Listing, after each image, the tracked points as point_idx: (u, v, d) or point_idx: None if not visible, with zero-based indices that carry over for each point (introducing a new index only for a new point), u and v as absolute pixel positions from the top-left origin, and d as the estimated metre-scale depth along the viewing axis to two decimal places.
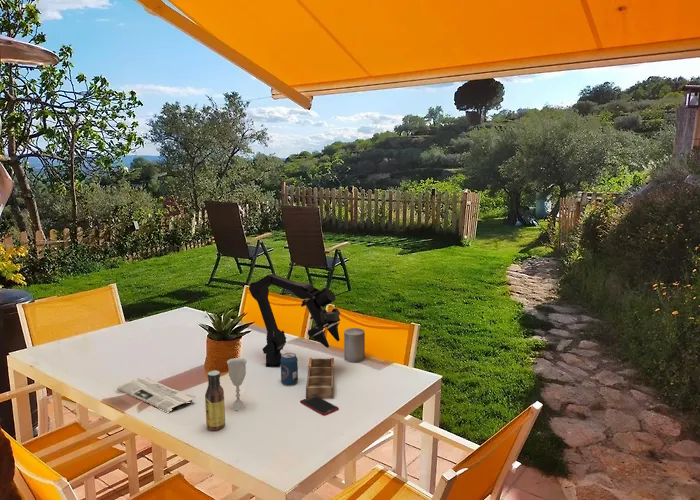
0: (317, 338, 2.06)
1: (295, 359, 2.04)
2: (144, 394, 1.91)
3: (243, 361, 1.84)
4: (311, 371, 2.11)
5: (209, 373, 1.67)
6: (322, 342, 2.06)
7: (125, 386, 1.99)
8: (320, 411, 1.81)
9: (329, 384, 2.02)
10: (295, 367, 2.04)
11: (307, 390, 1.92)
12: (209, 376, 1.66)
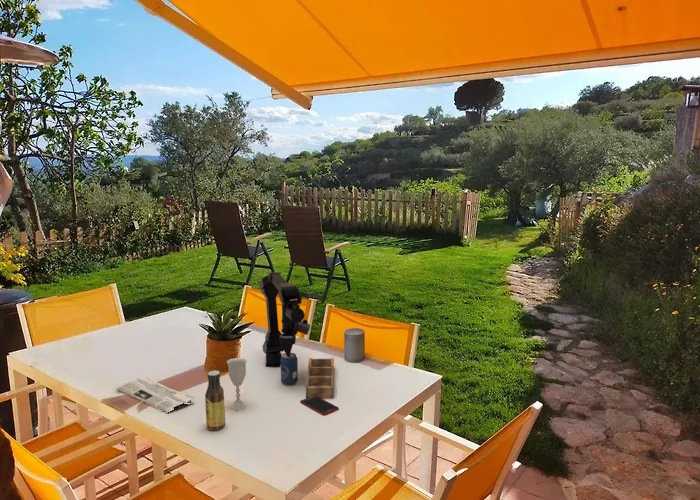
0: (284, 345, 1.98)
1: (295, 359, 2.04)
2: (143, 394, 1.91)
3: (243, 361, 1.84)
4: (311, 371, 2.11)
5: (209, 373, 1.67)
6: (286, 350, 1.99)
7: (124, 386, 1.99)
8: (320, 411, 1.81)
9: (329, 384, 2.02)
10: (295, 367, 2.04)
11: (307, 390, 1.92)
12: (209, 376, 1.66)
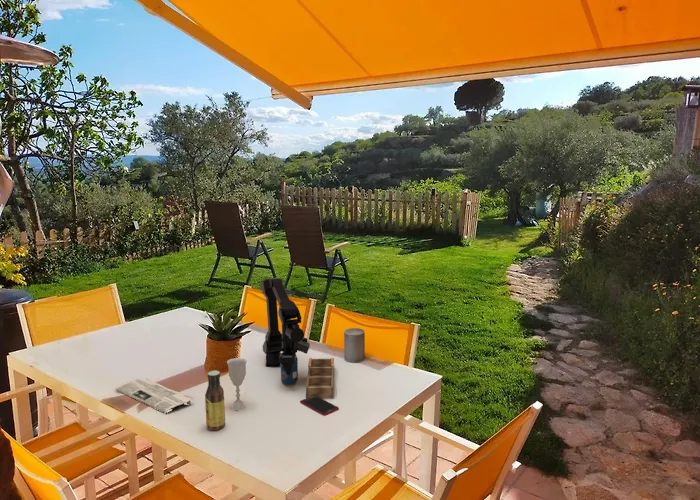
0: (284, 363, 2.00)
1: None
2: (142, 395, 1.91)
3: (243, 361, 1.84)
4: (311, 371, 2.11)
5: (209, 373, 1.67)
6: (286, 368, 2.01)
7: (123, 386, 1.98)
8: (320, 411, 1.81)
9: (329, 384, 2.02)
10: (295, 367, 2.04)
11: (307, 390, 1.92)
12: (209, 376, 1.66)
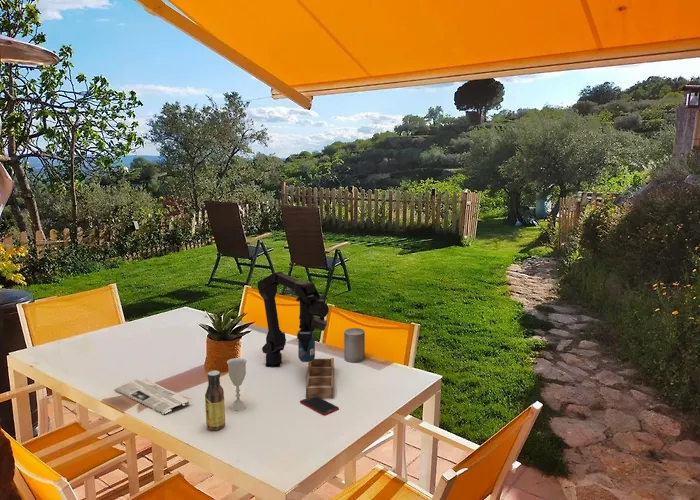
0: (301, 340, 2.04)
1: None
2: (140, 395, 1.90)
3: (243, 361, 1.84)
4: (311, 371, 2.11)
5: (209, 373, 1.67)
6: (303, 345, 2.05)
7: (122, 387, 1.98)
8: (320, 411, 1.81)
9: (329, 384, 2.02)
10: (312, 344, 2.08)
11: (307, 390, 1.92)
12: (209, 376, 1.66)
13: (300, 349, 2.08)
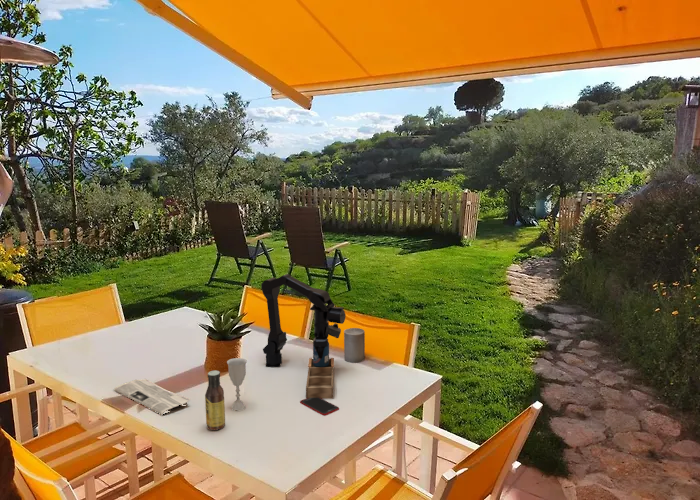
0: (317, 347, 2.10)
1: None
2: (139, 396, 1.90)
3: (243, 361, 1.84)
4: (311, 371, 2.11)
5: (209, 373, 1.67)
6: (319, 352, 2.11)
7: (122, 387, 1.98)
8: (320, 411, 1.81)
9: (329, 384, 2.02)
10: (327, 351, 2.14)
11: (307, 390, 1.92)
12: (209, 376, 1.66)
13: (315, 356, 2.13)
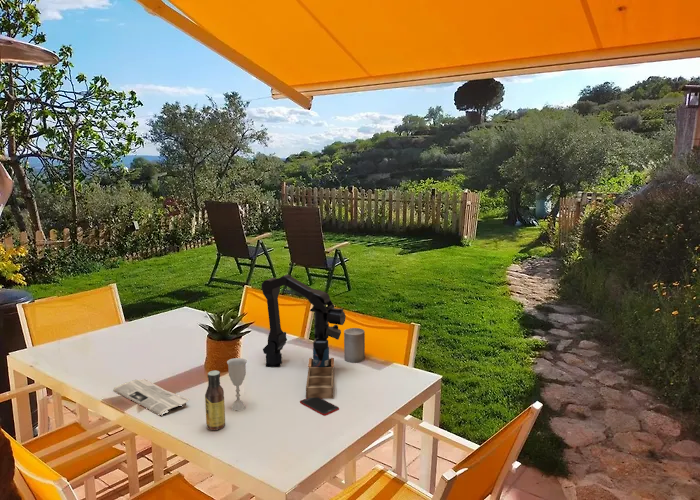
0: (317, 349, 2.09)
1: (327, 348, 2.14)
2: (138, 396, 1.90)
3: (243, 361, 1.84)
4: (311, 371, 2.11)
5: (209, 373, 1.67)
6: (319, 354, 2.10)
7: (121, 387, 1.97)
8: (320, 411, 1.81)
9: (329, 384, 2.02)
10: (327, 356, 2.14)
11: (307, 390, 1.92)
12: (209, 376, 1.66)
13: (315, 360, 2.14)
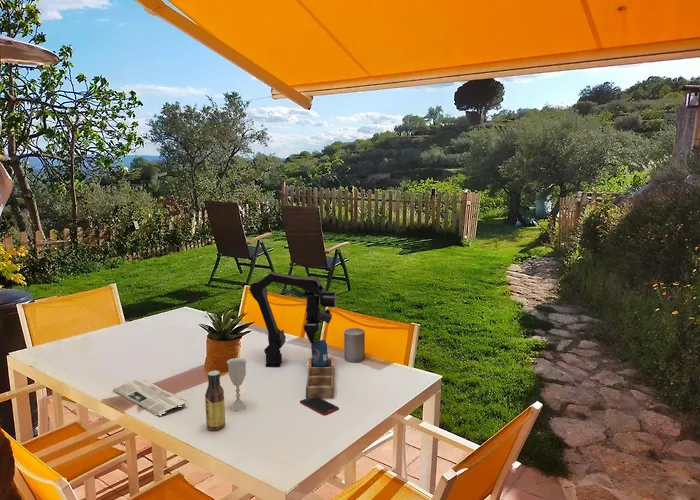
0: (308, 332, 2.15)
1: (324, 342, 2.17)
2: (137, 396, 1.89)
3: (243, 361, 1.84)
4: (311, 371, 2.11)
5: (209, 373, 1.67)
6: (310, 337, 2.16)
7: (121, 387, 1.97)
8: (320, 411, 1.81)
9: (329, 384, 2.02)
10: (325, 350, 2.16)
11: (307, 390, 1.92)
12: (209, 376, 1.66)
13: (314, 356, 2.16)
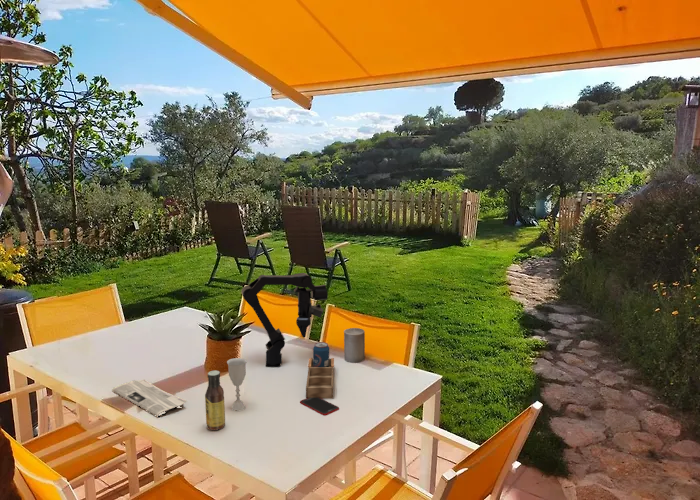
0: (300, 326, 2.22)
1: (327, 348, 2.13)
2: (136, 397, 1.89)
3: (243, 361, 1.84)
4: (311, 371, 2.11)
5: (209, 373, 1.67)
6: (302, 331, 2.23)
7: (120, 387, 1.97)
8: (321, 411, 1.81)
9: (329, 384, 2.02)
10: (327, 356, 2.14)
11: (307, 390, 1.92)
12: (209, 376, 1.66)
13: (315, 360, 2.13)
